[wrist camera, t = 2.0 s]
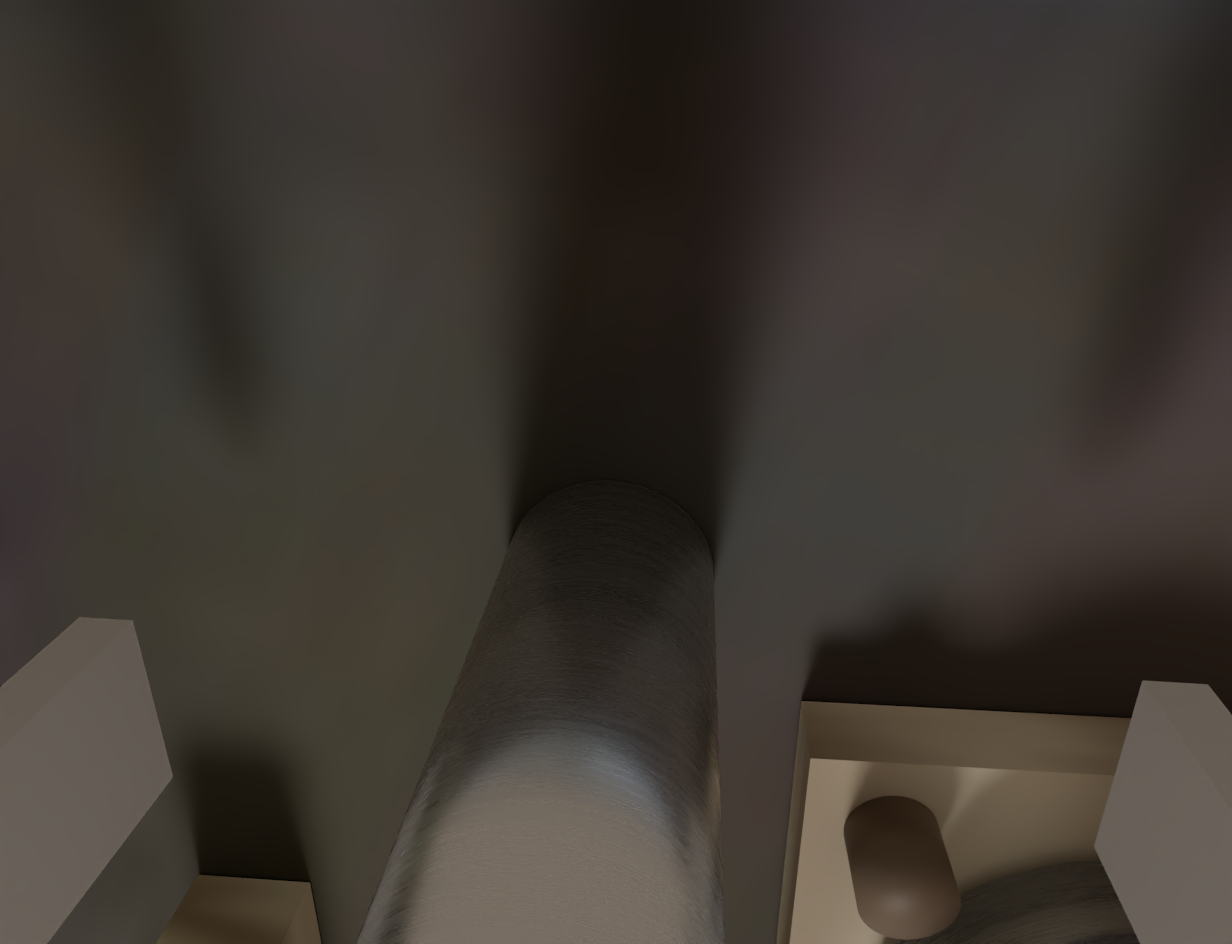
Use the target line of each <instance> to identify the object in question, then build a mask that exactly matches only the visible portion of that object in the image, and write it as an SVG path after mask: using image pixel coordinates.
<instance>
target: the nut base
mask: <svg viewBox="0 0 1232 944" xmlns="http://www.w3.org/2000/svg"><path fill="white" fill-rule="evenodd" d="M1130 721H1131V718H1115V717H1096V716H1077V715H1058V714H1039V713H1020V712H1001V711H982V710H963V709H944V708H924V707H905V706H886V705H867V704H848V703H829V702H810V701H801V709H800V719H799V728H798V738H797V748H796V757H795V767H794V776H793V786H792V796H791V805H790V815H789V824H788V834H787V844H786V853H785V863H784V872H783V882H782V892H781V901H780V911H779V920H778V930H777V940H776V944H897V943H898V942H899V941H900V940H901V939H905V940H910V939H920V938H925V937H929V936H931V935H934V934H936V933H939V932H941V931H942V930H944V929H945V928H947V927H948V926H949V925H950V924H951V923H952V922H953V921H954V920H955V919H956V917H957V915H958V913H959V911H960V908H961V897H960V896H961V895H963V894H965V893H967V892H969V891H971V890H974V889H976V888H978V887H980V886H982V885H985V884H988V883H990V882H993V881H996V880H999V879H1001V878H1004V877H1007V876H1010V875H1013V874H1017V873H1021V872H1025V871H1029V870H1033V869H1036V868H1040V867H1046V866H1052V865H1058V864H1064V863H1070V862H1081V861H1094V860H1100V858H1099V856H1098V854H1097V852H1096V850H1095V848H1094V845H1095V841H1096V838H1097V834H1098V831H1099V827H1100V824H1101V821H1102V817H1103V814H1104V810H1105V807H1106V803H1107V800H1108V797H1109V793H1110V790H1111V786H1112V783H1113V779H1114V776H1115V773H1116V769H1117V766H1118V762H1119V759H1120V755H1121V752H1122V749H1123V745H1124V742H1125V738H1126V735H1127V731H1128V728H1129V725H1130Z"/></svg>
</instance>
